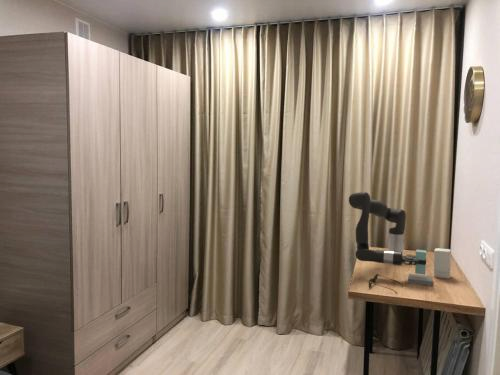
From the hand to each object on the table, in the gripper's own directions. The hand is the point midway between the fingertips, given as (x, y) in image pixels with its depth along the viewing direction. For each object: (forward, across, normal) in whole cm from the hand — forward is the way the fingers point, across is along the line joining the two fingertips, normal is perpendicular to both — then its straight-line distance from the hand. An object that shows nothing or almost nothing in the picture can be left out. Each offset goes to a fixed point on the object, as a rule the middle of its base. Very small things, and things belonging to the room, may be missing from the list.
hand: (425, 261), depth 219 cm
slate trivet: (-2, 0, +12) cm, 12 cm away
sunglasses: (-18, -17, +13) cm, 28 cm away
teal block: (-3, 0, +6) cm, 7 cm away
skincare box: (+9, +15, +12) cm, 21 cm away
